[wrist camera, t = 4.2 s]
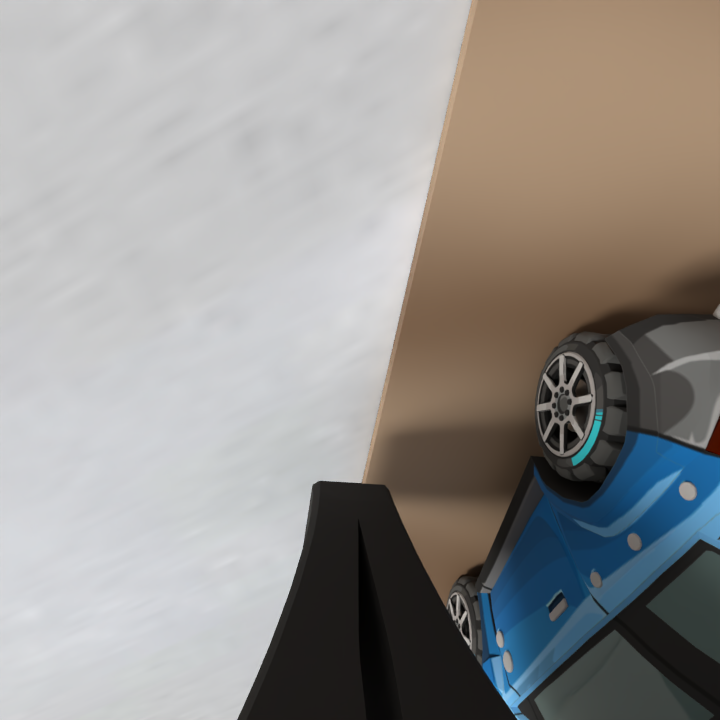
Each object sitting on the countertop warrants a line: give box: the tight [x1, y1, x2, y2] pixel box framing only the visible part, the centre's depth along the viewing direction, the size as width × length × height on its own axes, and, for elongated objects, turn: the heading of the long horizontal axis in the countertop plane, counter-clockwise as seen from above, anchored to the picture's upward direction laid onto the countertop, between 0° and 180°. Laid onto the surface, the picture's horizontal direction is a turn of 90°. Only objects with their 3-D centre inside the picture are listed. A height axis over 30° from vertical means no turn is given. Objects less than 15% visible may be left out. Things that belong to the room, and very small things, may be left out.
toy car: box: [446, 304, 720, 720], centre depth 10 cm, size 6×12×6 cm, turn 170°
